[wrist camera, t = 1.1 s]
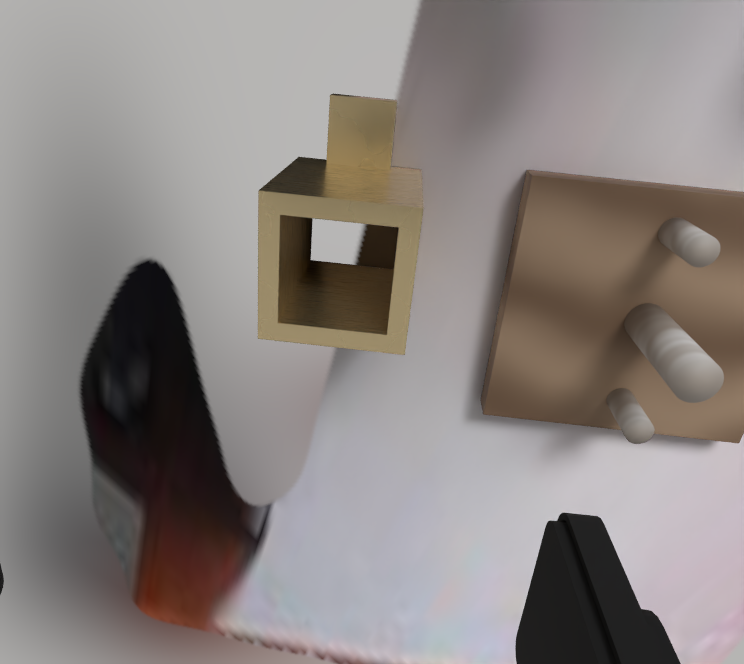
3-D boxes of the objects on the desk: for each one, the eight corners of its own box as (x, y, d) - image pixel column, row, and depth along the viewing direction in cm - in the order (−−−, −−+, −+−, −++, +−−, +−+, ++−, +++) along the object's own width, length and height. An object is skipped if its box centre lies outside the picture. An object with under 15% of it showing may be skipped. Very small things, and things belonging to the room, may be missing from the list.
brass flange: (300, 90, 27) (259, 102, 20) (429, 103, 27) (434, 119, 20) (293, 323, 32) (257, 400, 25) (401, 335, 32) (396, 416, 25)
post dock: (526, 169, 28) (562, 205, 21) (822, 200, 27) (956, 246, 21) (480, 399, 33) (497, 486, 27) (725, 427, 33) (805, 522, 26)
